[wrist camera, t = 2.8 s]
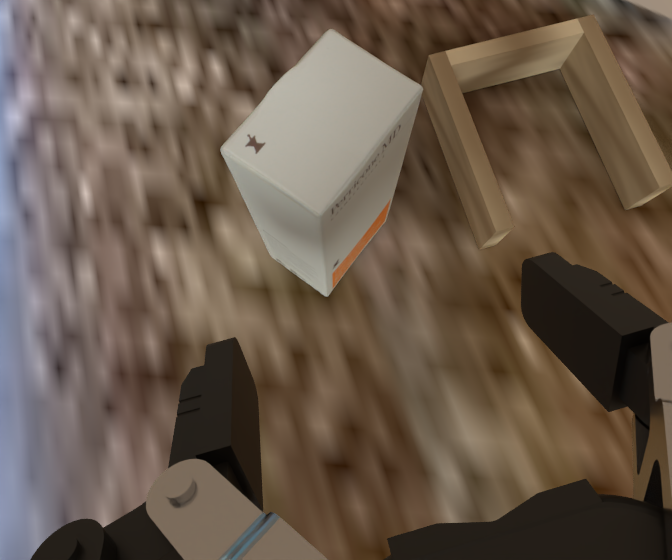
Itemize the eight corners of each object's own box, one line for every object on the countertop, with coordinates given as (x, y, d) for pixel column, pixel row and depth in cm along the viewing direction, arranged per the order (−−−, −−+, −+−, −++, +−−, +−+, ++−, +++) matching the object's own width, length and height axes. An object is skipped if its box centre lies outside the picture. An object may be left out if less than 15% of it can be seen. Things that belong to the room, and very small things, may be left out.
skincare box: (328, 300, 26) (317, 222, 14) (269, 257, 26) (211, 148, 15) (391, 219, 27) (428, 84, 15) (333, 179, 27) (326, 20, 16)
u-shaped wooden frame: (478, 249, 26) (496, 231, 23) (419, 89, 29) (428, 55, 26) (640, 205, 27) (677, 182, 24) (568, 52, 29) (593, 14, 26)
